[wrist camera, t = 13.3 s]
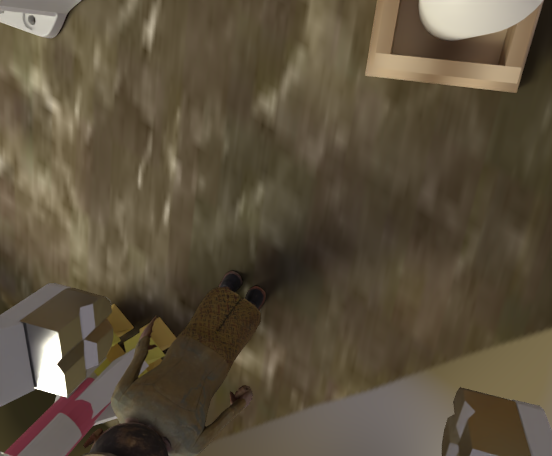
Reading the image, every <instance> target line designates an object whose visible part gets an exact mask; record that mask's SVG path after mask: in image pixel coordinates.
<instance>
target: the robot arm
mask: <svg viewBox="0 0 552 456" xmlns="http://www.w3.org/2000/svg"><path fill="white" fill-rule="evenodd" d="M80 1H82V0H0V22H1V23H4V24H7V25H10V26H12V27H15V28H18V29H21V30H24V31H26V32H29V33H32V34H35V35H38V36H41V37H46V38H54V37H55V36H56V35H57V34H58V33H59V31H60V29H61V27H62V25H63V23H64V21H65V18H66V16H67V14H68V12H69V11H70V10H71V9H72V8H73V7H74V6H76V5H77V4H78V3H79V2H80ZM34 17H35V20H36V22H34ZM111 313H112V309H111V301H110V300H109V299H108V298H107V297H104V296H101V295H97V294H94V293H90V292H86V291H83V290H79V289H76V288H71V287H68V286H64V285H60V284H57V283H52V284H47V285H46V286H44V287H43V288H41V289H40V290H38V291H37V292H35V293H33V294H32V295H30V296H29V297H27V298H26V299H24V300H23V301H21V302H20V303H18V304H17V305H15V306H14V307H12V308H10V309H9V310H7V311H6V312H4V313H3V314H1V315H0V406H2V405H5V404H7V403H9V402H11V401H13V400H15V399H17V398H19V397H21V396H23V395H25V394H27V393H29V392H31V391H33V390H34V388H37V389H40V390H44V391H47V392H51V393H54V394H58V395H61V396H65V397H68V396H69V394H70V393H71V392H72V391H73V390H74V389H75V388H76V387H77V386H78V385H79V384H80V383H81V382H82V381H83V380H84V379H85V378H86V374H87V369H89V368H92V367H94V366H97V365H99V364H100V363H101V362H102V361H103V359H104V358H105V357H106V356H107V354H108V352H109V350H110V348H111V346H112V342H113V336H114V335H113V327H112V325H111V324H110V322H109V321H108V319H107V318H108V317H109V315H110V314H111ZM453 403H454V413H455V414H454V415H452V416H450V417H449V418H448V419H447V422H446V426H445V429H444V435H443V441H442V456H552V430H551V427H550V425H549V422H548V419H547V417H546V414H545V411H544V410H543V409H542V408H541V407H540V406H538V405H534V404H529V403H525V402H520V401H516V400H509V399H505V398H501V397H496V396H493V395H488V394H485V393H481V392H477V391H472V390H469V389H465V388H461V387H460V388H459V389H458V391H457V393H456V396H455V398H454V401H453ZM0 456H11V455H9V454H6V453H3V452H0Z"/></svg>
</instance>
